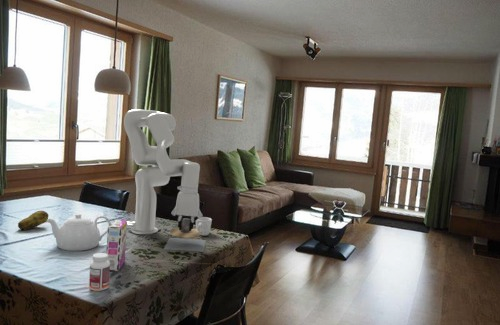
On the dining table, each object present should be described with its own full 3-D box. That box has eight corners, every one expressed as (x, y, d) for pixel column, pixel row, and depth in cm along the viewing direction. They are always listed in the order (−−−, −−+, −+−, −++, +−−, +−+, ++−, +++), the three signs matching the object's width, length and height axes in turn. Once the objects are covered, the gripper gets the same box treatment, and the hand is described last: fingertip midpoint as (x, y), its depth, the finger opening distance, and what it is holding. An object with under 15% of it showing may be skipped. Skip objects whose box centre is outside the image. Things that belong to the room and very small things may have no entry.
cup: (206, 239, 200) (207, 223, 199) (190, 237, 201) (191, 220, 201) (212, 233, 210) (213, 218, 210) (197, 231, 212) (198, 216, 211)
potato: (16, 227, 194) (16, 210, 193) (46, 225, 202) (47, 208, 201) (18, 231, 187) (18, 214, 187) (49, 229, 195) (50, 212, 194)
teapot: (80, 255, 164) (81, 221, 163) (44, 247, 171) (45, 214, 169) (111, 243, 182) (112, 213, 180) (77, 236, 188) (78, 206, 187)
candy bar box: (119, 271, 151) (121, 227, 150) (104, 271, 151) (107, 226, 149) (125, 261, 162) (127, 220, 161) (112, 260, 162) (114, 219, 160)
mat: (163, 250, 179) (163, 249, 179) (169, 238, 196) (169, 237, 196) (203, 252, 180) (203, 251, 180) (205, 241, 197) (205, 240, 196)
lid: (168, 236, 181) (169, 221, 180) (172, 228, 194) (173, 214, 193) (198, 239, 182) (199, 224, 181) (200, 230, 194) (201, 217, 194)
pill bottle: (106, 282, 141) (108, 251, 140) (111, 289, 136) (112, 257, 135) (87, 285, 138) (88, 253, 136) (91, 292, 132) (92, 259, 131)
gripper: (168, 189, 181) (165, 230, 183) (207, 193, 182) (203, 234, 184) (171, 186, 188) (167, 225, 191) (208, 190, 189) (204, 229, 192)
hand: (185, 229), depth 187 cm, fingers closed on lid, 4 cm apart
